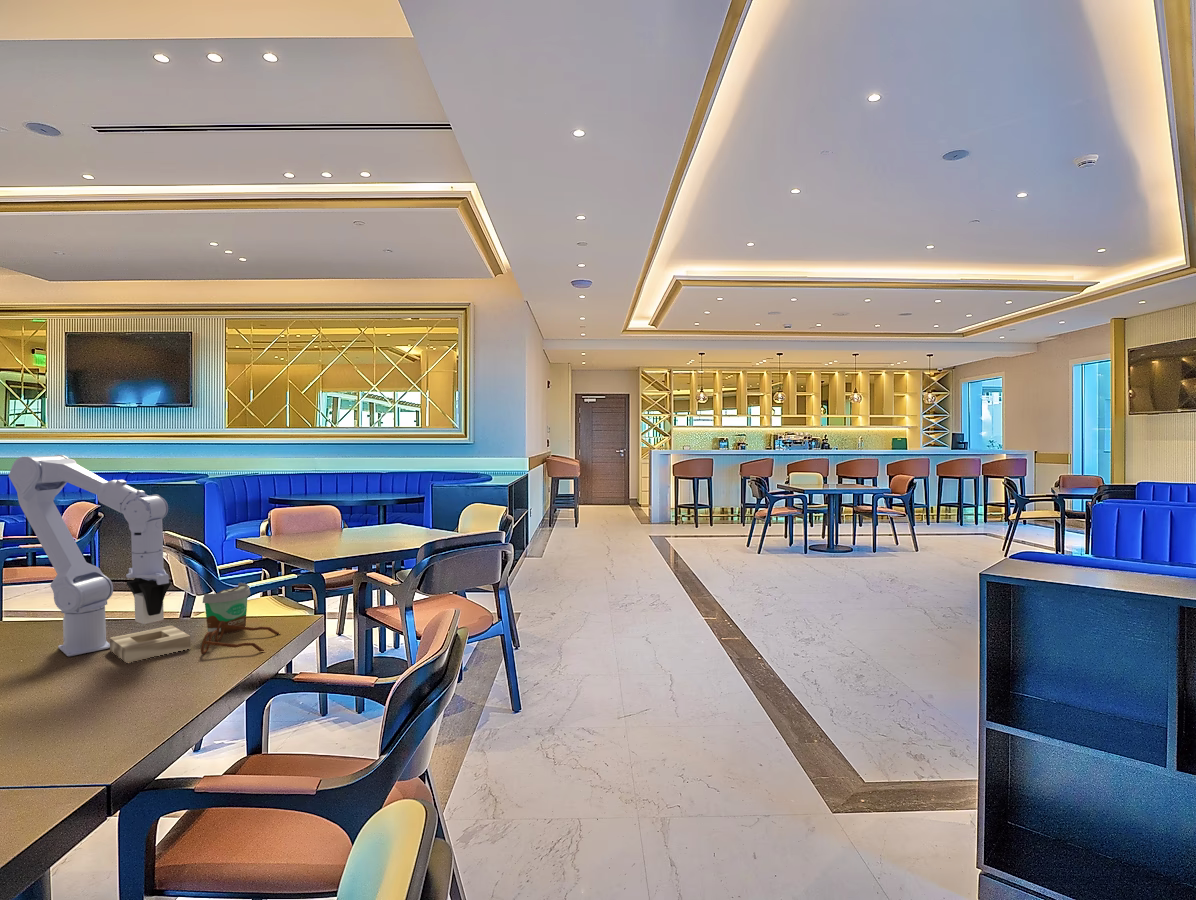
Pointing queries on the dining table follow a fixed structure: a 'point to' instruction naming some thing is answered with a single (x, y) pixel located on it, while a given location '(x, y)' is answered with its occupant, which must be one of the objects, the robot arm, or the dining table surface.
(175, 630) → the holder
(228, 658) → the dining table surface
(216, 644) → the glasses
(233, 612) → the food container
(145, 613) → the connector plug
